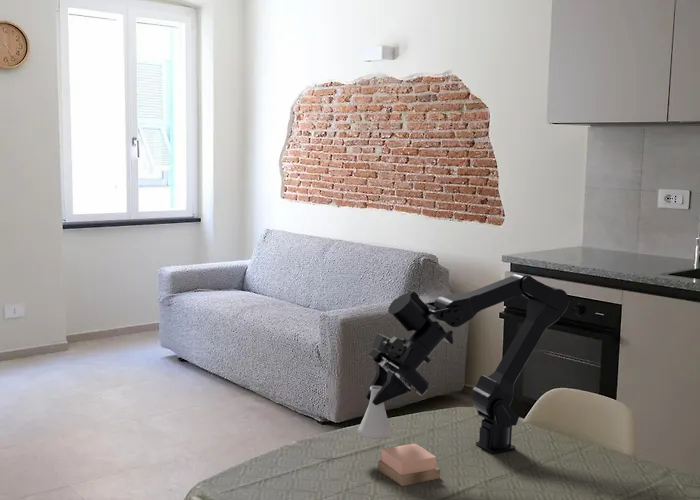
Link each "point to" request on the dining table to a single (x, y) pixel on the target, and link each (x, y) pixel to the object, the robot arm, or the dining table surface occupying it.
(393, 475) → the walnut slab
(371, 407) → the flask
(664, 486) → the dining table surface
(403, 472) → the terracotta slab
